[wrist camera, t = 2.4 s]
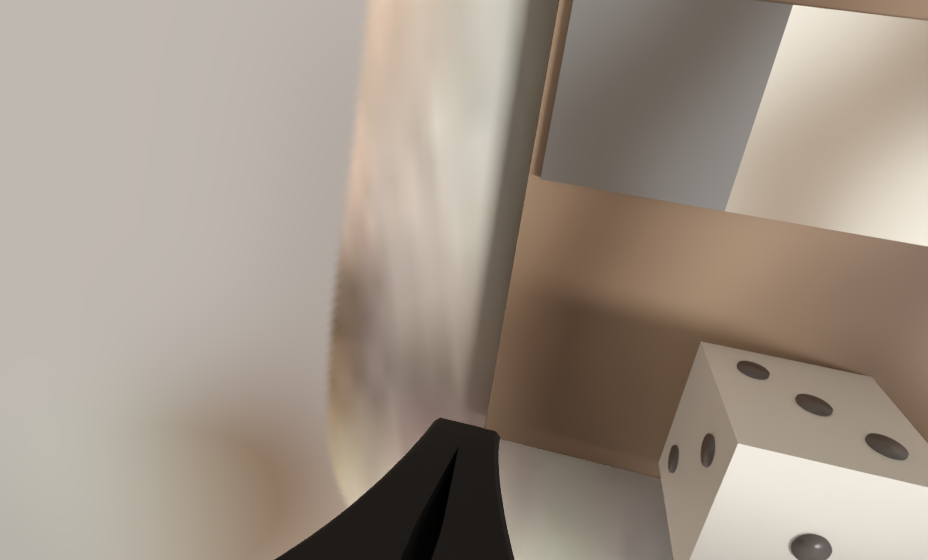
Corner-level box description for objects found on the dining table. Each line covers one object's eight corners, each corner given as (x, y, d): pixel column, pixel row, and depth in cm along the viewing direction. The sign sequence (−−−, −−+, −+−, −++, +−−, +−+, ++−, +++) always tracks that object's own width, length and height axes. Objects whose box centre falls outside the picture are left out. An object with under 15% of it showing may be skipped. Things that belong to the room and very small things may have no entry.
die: (872, 374, 13) (977, 498, 10) (808, 499, 15) (878, 645, 11) (699, 339, 14) (736, 441, 10) (656, 462, 16) (675, 589, 12)
